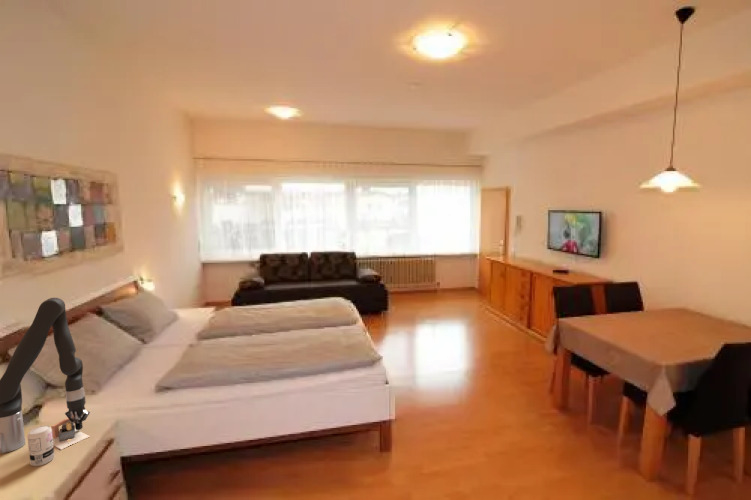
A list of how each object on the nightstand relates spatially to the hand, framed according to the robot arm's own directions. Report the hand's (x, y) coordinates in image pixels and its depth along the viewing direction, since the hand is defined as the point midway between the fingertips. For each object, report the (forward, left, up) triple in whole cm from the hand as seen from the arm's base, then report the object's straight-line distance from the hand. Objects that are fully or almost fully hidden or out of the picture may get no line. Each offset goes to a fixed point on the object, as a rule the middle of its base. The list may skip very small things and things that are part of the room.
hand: (79, 429), depth 197 cm
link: (-4, +1, -1) cm, 5 cm away
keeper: (-5, +5, -1) cm, 7 cm away
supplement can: (-20, -14, -1) cm, 24 cm away
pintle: (-5, -3, -1) cm, 6 cm away
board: (-6, -2, -1) cm, 7 cm away
